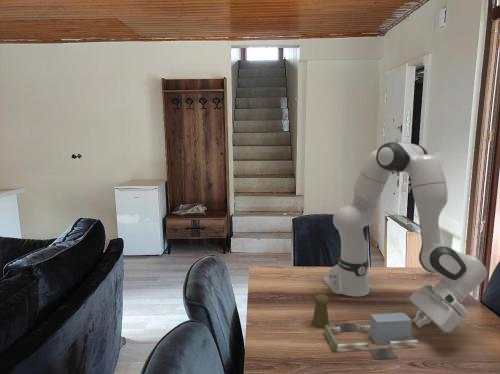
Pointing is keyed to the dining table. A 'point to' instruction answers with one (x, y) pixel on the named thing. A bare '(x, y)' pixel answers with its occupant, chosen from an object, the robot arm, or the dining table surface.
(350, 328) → the lane
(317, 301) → the cork
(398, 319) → the grey brick
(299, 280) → the dining table surface
